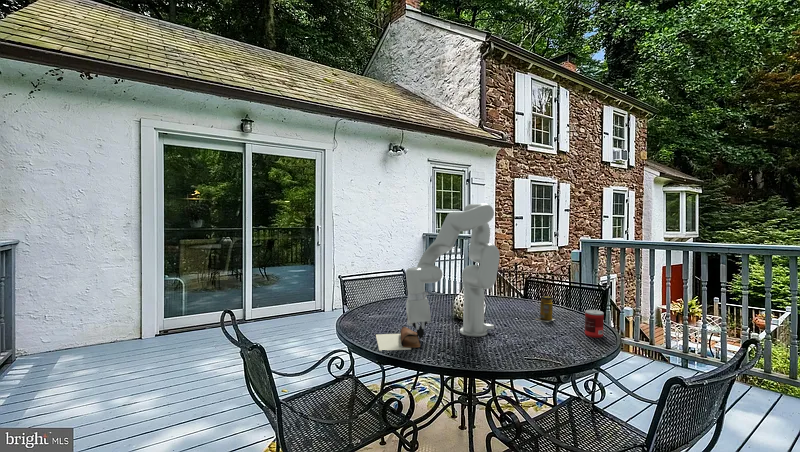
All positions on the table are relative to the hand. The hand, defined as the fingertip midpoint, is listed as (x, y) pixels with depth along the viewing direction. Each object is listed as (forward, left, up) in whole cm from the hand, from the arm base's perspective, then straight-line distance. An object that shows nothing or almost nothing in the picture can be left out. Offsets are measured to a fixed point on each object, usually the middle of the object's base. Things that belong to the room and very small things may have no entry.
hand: (420, 336), depth 173 cm
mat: (+13, 0, -2) cm, 13 cm away
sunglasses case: (+5, 0, -2) cm, 5 cm away
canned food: (-80, +2, -2) cm, 80 cm away
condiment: (-71, -26, -2) cm, 76 cm away
